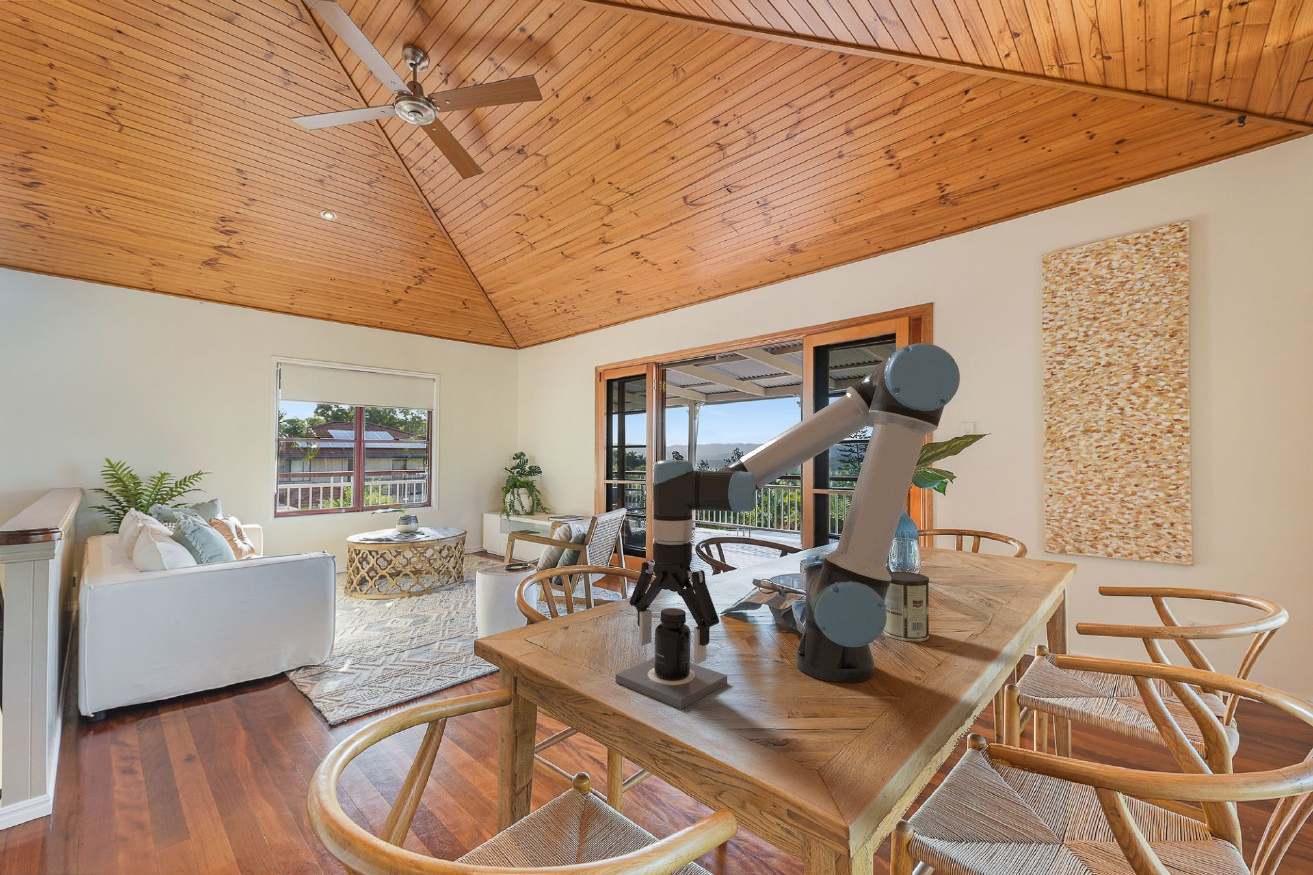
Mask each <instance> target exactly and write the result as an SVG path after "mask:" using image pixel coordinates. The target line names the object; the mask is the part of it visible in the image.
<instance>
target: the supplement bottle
mask: <svg viewBox="0 0 1313 875" xmlns="http://www.w3.org/2000/svg"><path fill="white" fill-rule="evenodd" d="M686 614H687V613H686V611H685V610H684V609H682V608H677V607H668V608H663V609H662V610H660V623H659V624H658V625H657V626H656V628H655V630H654V658H655V662H654V671H655V674H656V676H657V677H659V678H660V679H663V680H667V681H679V680H683V679H685V678H687V677H688V676H689V674H690V663H691V639H692V638H691V637H692V636H691V634H692V633H691V628H690V627H689V626H688V625H687V624H686V622H687V618H686V617H687V616H686Z"/></svg>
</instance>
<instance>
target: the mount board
mask: <svg viewBox="0 0 1313 875" xmlns="http://www.w3.org/2000/svg"><path fill="white" fill-rule="evenodd" d="M654 662H655V657H653V658H651V659H649V660H645V661H644V662H642V663H639V664H637V665H633V666H632V667H630V668H627V669H624V670H623V671H620V672H618V673H616V674H615V683H616V684H619V685H622V686H624V687H627V688H629V689H631V690H634V691H637V692H638V693H641V694H643V695H645V696H648V697H650V698H653V699H655V700H658V701H661V702H663V703H664V704H668V705H670V706H672V707H675V708H677V709H679V710H682V709H684V708H686V707H687V706H689V705H691V704H693V703H694V702H696V701H698V700H700V699H701V698H703V697H705V696H707V695H708V694H711V693H712V692H714V691H716V690H718V689H720V688H721V687H723V686H725V685H727V684H728V675H727V674H724V673H721V672H719V671H716V670H712V669H710V668H706V667H704V666H700V665H699V664H694V663H692V662H690V674H689V676H688V677H687V678H685V679H683V680H679V681H667V680H663V679H660V678H659V677H657V676H656V674H655V671H654Z"/></svg>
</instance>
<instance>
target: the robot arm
mask: <svg viewBox="0 0 1313 875" xmlns="http://www.w3.org/2000/svg"><path fill="white" fill-rule="evenodd" d="M960 382H961V372H960V368H959V365H958V364H957V362H956V361H955V359H954V357H953V356H952V355H951V354H950V352H948V351H947V350H945V349H944V348H942V347H940V346H939V345H937V344H936V345H935V344H931V343H924V342H921V343H914V344H907V345H905V346H902V347H901V348H898V349H897V350H896V351H894V352H893V353H892V354H891V355H890V356H888V357H887V358H885V359H883V360H882V361H881V362H879V364H878V365H876V366H875V367H874V368H873V369H872V370H871V371H870V372H868V373H867V374H866V375H865V376H864V377H862V378H861V379H860V380H858V381H856V382H854V383H853V384H852V385H850V386H849V387H847V389H846V392H845V395H843V396H841V397H840V398H838V399H836V400H835V401H833V402H832V403H830V404H828V405H827V406H825V407H824V408H821V409H820V410H818V411H817V412H815V413H813V414H811V415H809V416H808V417H807V418H805V419H803V420H801V421H799V422H798V423H797V424H795V425H793V426H792V427H790V428H788V429H787V430H785V431H783V432H781V433H779V434H778V435H777V436H775V437H773V438H772V439H769V440H768V441H766V442H764V443H763V444H762V445H760V446H758V447H756V448H755V449H753V450H752V451H750V452H749V453H746V454H745V455H743V456H742V457H740V458H739V459H736V460H735V461H734V462H731V463H730V464H728V465H727V466H724V467H722V468H721V469H719V470H714V471H713V470H712V471H711V470H709V471H708V470H707V471H705V470H704V471H703V470H702V471H701V470H694V467H693V462H692V461H691V460H683V459H682V460H680V459H679V460H677V459H664V460H663V459H661V460H657V461H656V463H654V466H653V468H654V469H653V482H652V495H653V496H652V505H653V506H652V511H653V512H652V539H653V540H654V542H652V559H651V560H649V561H647V560H646V561H643V562H642V563H641V568H640V569H641V572H640V574H639V577H638V580H637V582H636V585H635V587H634V590H633V591H632V594H631V597H630V600H629V605H630V606H631V607H634V608H635V609H636V610H637V626H638V627H639V636H638V637H639V646H641V647H643V646H646V645H648V644H651V643H652V609H650V608H651V605H652V603H653V602H654V600H655V599H656V598H657V596H658V595H659V594H660V592H661V591H662V590H665V591H667V590H669V591H671V592H674V593H677V595H678V596H680V597H681V598H682V599H683V602H684V603H685V605H686V607H687V609H688V611H689V612H690V614H691V616H692V618H693V620H694V621H695V624H696V625H697V626H695V627H694V628H693V629H694V630H693V634H694V635H693V637H694V638H693V639H694V640H693V664H695V665H699V664H701V663H703V662H706V661H707V645H709V643H710V629H711V627H714V626H715V625H718V624H719V623H720V619H719V616H718V613H717V611H716V607H715V604H714V602H713V599H712V597H711V594H710V592H709V588H708V586H707V583H706V573H705V571H704V570H703V569H701V570H697V571H696V570H695V571H693V570H692V569H691V562H692V560H693V543H692V542H691V540H692V539H693V511H697V512H698V511H699V512H700V511H708V512H709V511H710V512H715V511H716V512H730V513H732V512H733V513H741V512H744V513H745V512H747V513H750V512H753V511H754V510H755V508H756V507H757V506H756V505H757V504H756V503H757V502H756V497H757V496H756V495H757V493H756V492H757V491H758V490H760V489H761V488H763V487H765V486H767V485H768V484H769V483H772V482H773V481H775V480H777V479H778V478H781V477H782V476H785V474H787V473H789V472H791V471H792V470H795V469H796V468H797V467H799V466H800V465H802V464H804V463H806V462H808V461H810V460H811V459H813V458H814V457H816V456H818V455H820V454H822V453H823V452H824V451H826V450H828V449H830V448H832V447H833V446H835V445H837V444H838V443H841V442H842V441H844V440H846V439H847V438H849V437H851V436H852V435H854V434H856V433H857V432H859V431H861V430H863V429H865V428H866V427H868V428H872V431H871V435H870V438H869V441H868V444H867V447H866V451H865V454H864V458H863V460H862V464H861V467H860V471H859V474H858V478H857V481H856V484H855V487H854V490H853V494H852V498H851V500H850V504H849V508H848V510H847V514H846V517H845V520H844V523H843V528H842V531H841V533H840V537H839V540H838V543H837V546H836V549H835V550H834V551H831V552H829V553H814V554H813V553H812V554H809V555H808V556H806V559H805V566H804V571H805V626H804V631H803V633H802V636H801V638H800V642H799V643H798V644H799V645H798V646H797V647H798V648H797V651H796V666H797V667H798V669H799V670H800V671H802V672H803V673H804V674H806V675H808V676H810V677H813V678H816V679H818V680H822V681H827V682H834V683H842V684H843V683H844V684H845V683H846V684H847V683H849V684H853V683H854V684H855V683H860V682H861V683H862V682H865V681H868V680H871V679H872V678H873V677H874V676H875V660H874V657H873V656H874V655H873V654H872V650H871V648H870V644H871V643H873V642H875V641H876V640H877V639H878V638H879V637H880V636H881V635H882V633H883V630H884V628H885V625H886V621H887V612H886V610H887V609H886V606H885V603H884V602H885V598H886V595H887V592H888V588H889V585H890V582H891V576H890V574H889V572H890V571H889V570H888V569H887V566H886V565H887V562H888V558H889V555H890V552H891V549H892V545H893V542H894V539H895V536H896V533H897V530H898V526H899V523H900V519H901V516H902V513H903V510H904V506H905V502H906V500H907V496H908V495H909V494H908V493H909V491H910V486H911V484H912V481H913V477H914V473H915V470H916V468H917V464H918V460H919V457H920V454H921V450H922V448H923V444H924V441H925V439H926V438H925V437H926V436H928V435H930V434H931V433H933V432H935V431H936V430H938V427H939V424H940V421H941V418H942V414H943V413H944V412H943V411H944V409H945V406H947V404H949V403H950V402H951V401H952V399H953V398H954V396H955V395H956V394H957V392H958V390H959V386H960ZM653 575H655V578H654V579H653V580H652V578H653ZM649 585H650V587H649Z"/></svg>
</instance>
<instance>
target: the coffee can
mask: <svg viewBox="0 0 1313 875" xmlns="http://www.w3.org/2000/svg"><path fill="white" fill-rule="evenodd" d="M888 572H889V574H890V576H891V582H890V585H889V588H888V592H887V595H886V598H885V602H884V603H885V606H886V609H887V610H886V612H887V621H886V625H885V628H884V630H883V632H882V633H883V634H884V635H885V636H886V637H889V638H892V639H895V640H899V641H904V642H911V643H912V642H916V643H917V642H918V643H919V642H924V641H927V640H929V638H930V634H929V633H930V632H929V630H930V628H929V627H930V625H929V624H930V621H929V620H930V619H929V618H930V617H929V614H930V613H929V612H930V610H929V607H930V606H929V604H930V603H929V600H930V599H929V597H930V596H929V582H930V578H929V577H928V576H927V575H924V574H920V573H917V572H911V571H888Z"/></svg>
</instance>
